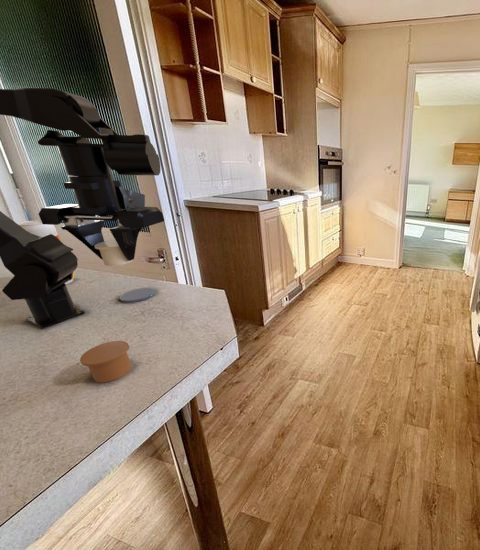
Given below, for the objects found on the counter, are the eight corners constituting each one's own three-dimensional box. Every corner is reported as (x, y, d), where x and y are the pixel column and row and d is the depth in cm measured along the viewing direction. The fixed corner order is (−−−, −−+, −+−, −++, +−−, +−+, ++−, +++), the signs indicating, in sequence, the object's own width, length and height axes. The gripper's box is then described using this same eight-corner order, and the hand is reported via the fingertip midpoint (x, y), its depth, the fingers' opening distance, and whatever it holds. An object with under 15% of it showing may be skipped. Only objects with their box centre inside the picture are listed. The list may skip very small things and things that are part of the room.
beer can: (82, 279, 73) (59, 220, 67) (52, 289, 68) (24, 226, 62) (64, 276, 74) (41, 218, 69) (34, 285, 69) (5, 224, 63)
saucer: (114, 298, 64) (113, 296, 64) (144, 287, 70) (143, 285, 70) (131, 305, 62) (130, 302, 62) (161, 293, 67) (160, 291, 67)
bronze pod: (81, 378, 42) (71, 357, 41) (122, 356, 47) (115, 337, 45) (102, 390, 40) (92, 368, 39) (143, 366, 45) (136, 346, 43)
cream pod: (94, 264, 55) (87, 245, 54) (125, 255, 60) (119, 238, 58) (112, 268, 53) (105, 249, 52) (142, 259, 58) (137, 241, 56)
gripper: (173, 174, 57) (190, 248, 63) (83, 171, 58) (108, 245, 64) (128, 178, 47) (153, 267, 53) (18, 174, 48) (56, 263, 54)
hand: (118, 259), depth 56 cm, fingers closed on cream pod, 5 cm apart
